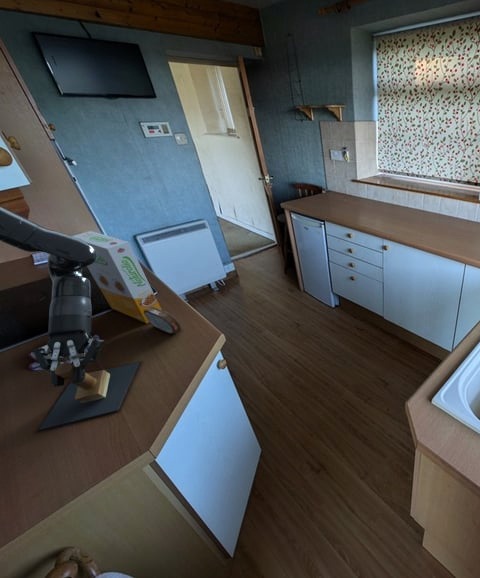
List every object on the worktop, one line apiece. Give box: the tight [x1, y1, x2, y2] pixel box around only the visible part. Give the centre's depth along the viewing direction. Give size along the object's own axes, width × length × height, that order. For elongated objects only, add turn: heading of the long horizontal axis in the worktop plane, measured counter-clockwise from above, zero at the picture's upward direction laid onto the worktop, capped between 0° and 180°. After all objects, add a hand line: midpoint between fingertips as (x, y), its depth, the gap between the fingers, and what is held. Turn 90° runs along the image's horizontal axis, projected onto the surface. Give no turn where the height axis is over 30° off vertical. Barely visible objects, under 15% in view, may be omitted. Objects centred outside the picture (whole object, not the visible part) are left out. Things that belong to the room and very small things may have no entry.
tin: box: [144, 306, 182, 335], centre depth 103 cm, size 15×3×8 cm, turn 65°
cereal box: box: [72, 230, 162, 324], centre depth 106 cm, size 22×6×30 cm, turn 65°
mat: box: [38, 362, 140, 432], centre depth 81 cm, size 16×18×1 cm
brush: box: [55, 361, 110, 403], centre depth 76 cm, size 5×7×13 cm
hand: (68, 384), depth 72 cm, fingers closed on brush, 3 cm apart
